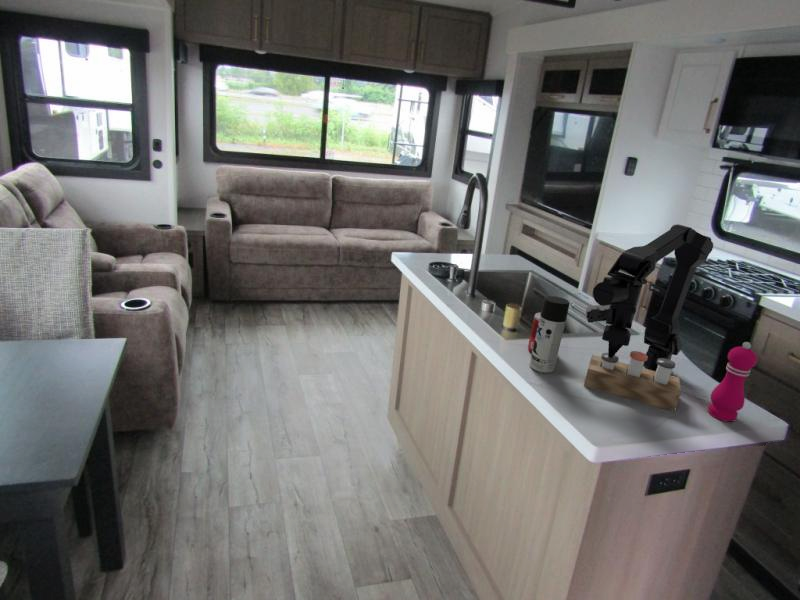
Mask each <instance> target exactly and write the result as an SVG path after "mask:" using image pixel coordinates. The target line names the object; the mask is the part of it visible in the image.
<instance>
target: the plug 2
mask: <svg viewBox="0 0 800 600" xmlns="http://www.w3.org/2000/svg"><path fill="white" fill-rule="evenodd" d="M657 364H658V367H657V370H656V373H655V377H654V380H653V381H654V382H658V383H661V384H665V385H667V384H668V380H669V377H670V375H671V373H672V372H673V369H675V367H676V365H677V364H676V362H675V361H673V360H672V359H671V360H669V359H665V358H658V360H657Z"/></svg>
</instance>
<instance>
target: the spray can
mask: <svg viewBox="0 0 800 600" xmlns="http://www.w3.org/2000/svg"><path fill="white" fill-rule="evenodd" d="M570 303H571V302H570V301H569V300H568V299H566V298H564V297H561V296H553V295H547V296H544V299H543V303H542V307H541V310H540V311H541V315H540V320H539V324H538V329H537V333H536V337H535V342H534V346H533V351H532V353H531V356H530V360H529V365H530V368H531V369H532V370H533V371H535V372H537V373H541V374H551V373H553V371H554V370H555V367H556V364H557V358H558V354H559V350H560V346H561V342H562V338H563V334H564V330H565V325H566V321H567V317H568V312H569V308H570V305H571V304H570Z"/></svg>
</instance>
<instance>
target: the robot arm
mask: <svg viewBox="0 0 800 600" xmlns="http://www.w3.org/2000/svg"><path fill="white" fill-rule="evenodd" d="M713 249H714V242H713V241H712V238H711V237H710V236H706V235H703V234H701V233H699V232H698V231H696V230H695V229H694V228H692V227H690V226H687V225H682V224H678V223H677V224H673V225H672V226H671V228H670V229H669V230H667V231H666V232H664V233H663V234H661V235H660V236H657V238H654V240H652V241H650V242H649V243H647V244H645V245H641V246H639V245H638V246H634V247H630V248H628V249H626V250H624V251H623V252H622V253H621V254H620V255H619V257H618V258H617V260H616V261H615V262H614V263H613V265H612V267H610V269H609V271H608V272H607V276H605V277H603V281H601V282H599V283H597V284H595V286H594V287H593V290H592V297H593V300H594V301H595V302H596V304H597V305H589V306H587V307H586V308H585V309H586V310H585V313H586V319H587V322H588V323H591V324H592V323H595V322H605V324H606V325H605V327H604V329H603V333H602V336H601V340H602V341H605V342H608V347H607V348H608V350H607V353H608V356H609V357H613V356H614V355H616V354H617V353H618V351H620V349H621V348H622V347H625V346H626V347H629V344H630V341H631V335H632V334H631V333H630V330H629V329H632V327H633V320H634V316H635V314H636V312H637V306H638V303H639V299H640V297H641V296H640V295H641V292H642V289H643V286H644V285H647V284H648V280H647V277H648V276H650V275H651V274H652V273H653V272H654V271H655V269H656V267H657V266H656V265H657V263H658V262H660V260H662V259H664V258H665V257H667V256H668V255H669V254H672V253H673V252H674V257H675V260H676V265H675V268H674V271H673V273H672V276H671V279H670V282H669V284H668V288H667V291H666V294H665V297H664V298H663V302H662V304H661V308H660V309H659V312H658V314H656V315H655V316H653V317H650V318H649V319H648V322H647V326H646V327H645V329H644V335H643V344H645V345H648V349H647V351H646V353H645V354H646V355H647V356H648V358H647V361H644V365H643V367H646V369H648V370H652V371H656V370H657V367H658V364H657V360H658V358H665V359H669V360H671V361H672V356H678V355H679V353H680V352H681V350H682V348H683V344H682V341H681V338H680V334H681V329H682V328H681V323H680V320H679V316H680V313H681V311H682V308H683V305H684V302H685V300H686V297H687V294H688V292H689V290H690V286H691V284H692V281H693V278H694V275H695V272H696V270H697V268H698V267H700V266H701V265H702V264H704V263H705V262H706V261H707V260H708V257H709V256H710V254H711V253H712V252H713Z"/></svg>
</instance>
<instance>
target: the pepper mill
mask: <svg viewBox="0 0 800 600" xmlns="http://www.w3.org/2000/svg"><path fill="white" fill-rule="evenodd" d="M751 348H752V344H751V342H748V341H744V342H743V343H742V346H741V345H740V346H734V347H733V348H731V349H729V352H728V353H727V360H728V362H727V364H726V367H725V369H726V374H725V375H724V378H723V379H722V381H720V383H718V384H717V386H715V387H714V388H713V390H712V392H711V394H710V400H711V401H712V402H710V404H709V406H708V409H707V412H708V413H709V415H711V416H712V417H713V418H716V419H718V420H720V421H723V420H725V421H724V422H727V421H733V422H735V421H736V420H737V418H738V414H739V412H738V411H741V410H742V409H743V408H744V406H745V401H746V400H745V399H746V398H745V390H744V386H745V385H744V384H745V382H746V381H745V380H746V378H747V377H749V376H750V373H751V369H752V368H754V367H755V366H756V364H757V362H758V356H757V353H756V352H755V351H754V350H752V349H751ZM734 420H735V421H734Z"/></svg>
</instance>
